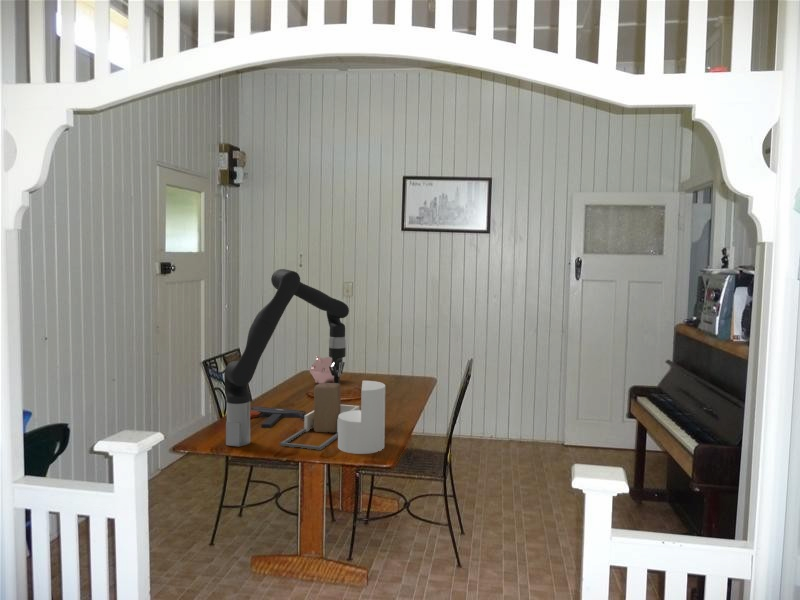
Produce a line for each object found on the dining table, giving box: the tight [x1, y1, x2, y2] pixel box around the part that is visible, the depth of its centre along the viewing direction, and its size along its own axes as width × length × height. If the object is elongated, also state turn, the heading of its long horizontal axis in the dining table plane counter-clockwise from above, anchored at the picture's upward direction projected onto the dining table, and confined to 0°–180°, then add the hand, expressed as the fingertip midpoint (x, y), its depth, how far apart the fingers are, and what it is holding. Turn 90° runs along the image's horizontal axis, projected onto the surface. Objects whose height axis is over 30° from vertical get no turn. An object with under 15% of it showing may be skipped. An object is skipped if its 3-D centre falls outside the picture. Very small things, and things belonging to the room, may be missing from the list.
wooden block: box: [313, 382, 342, 434], centre depth 284 cm, size 10×10×20 cm
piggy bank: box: [309, 355, 334, 384], centre depth 379 cm, size 15×18×16 cm
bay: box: [279, 428, 338, 451], centre depth 268 cm, size 22×17×1 cm
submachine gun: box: [250, 406, 307, 429], centre depth 299 cm, size 32×3×25 cm
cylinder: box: [337, 380, 386, 455], centre depth 261 cm, size 19×19×25 cm
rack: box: [303, 404, 360, 434], centre depth 290 cm, size 24×16×7 cm
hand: (336, 384), depth 293 cm, fingers closed
